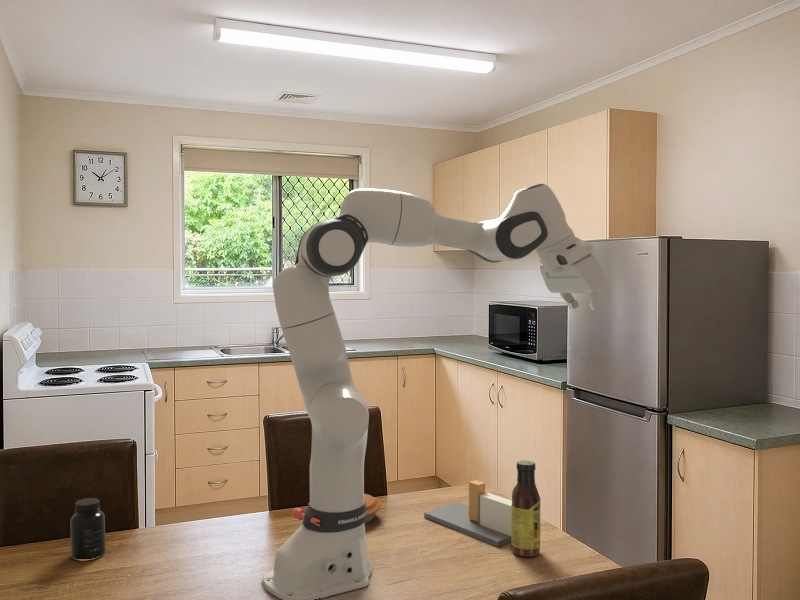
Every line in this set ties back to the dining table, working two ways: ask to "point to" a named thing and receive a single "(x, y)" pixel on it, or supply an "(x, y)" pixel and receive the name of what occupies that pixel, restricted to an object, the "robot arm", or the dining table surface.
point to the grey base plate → (490, 518)
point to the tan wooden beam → (475, 498)
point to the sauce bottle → (525, 512)
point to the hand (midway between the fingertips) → (585, 308)
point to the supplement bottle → (87, 530)
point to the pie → (371, 506)
